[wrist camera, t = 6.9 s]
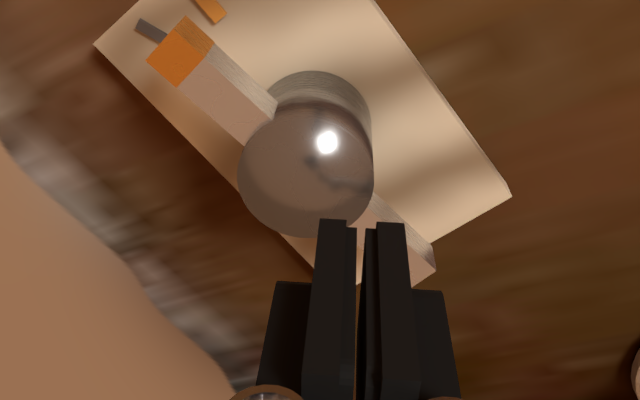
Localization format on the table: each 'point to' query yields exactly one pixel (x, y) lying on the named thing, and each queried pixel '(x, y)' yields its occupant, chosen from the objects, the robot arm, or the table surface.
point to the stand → (336, 58)
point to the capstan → (289, 141)
